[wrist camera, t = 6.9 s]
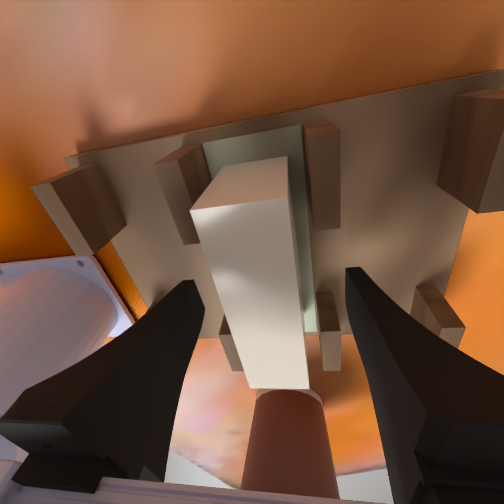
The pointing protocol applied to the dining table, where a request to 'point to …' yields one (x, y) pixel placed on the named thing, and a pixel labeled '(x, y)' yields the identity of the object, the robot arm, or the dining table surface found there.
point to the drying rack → (307, 199)
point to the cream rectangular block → (257, 269)
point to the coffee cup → (289, 446)
